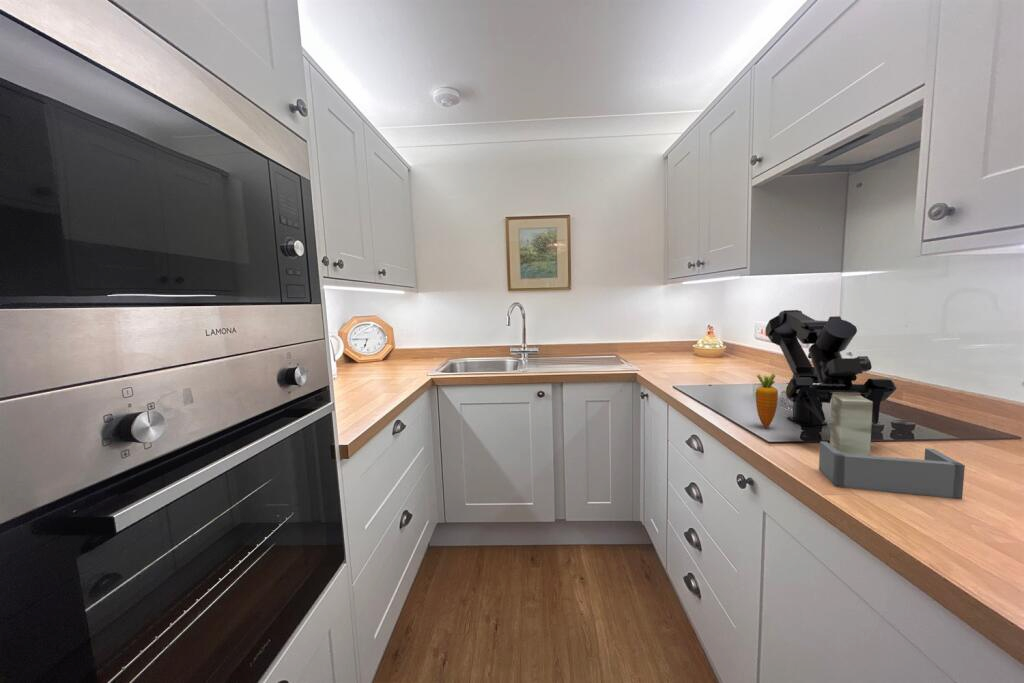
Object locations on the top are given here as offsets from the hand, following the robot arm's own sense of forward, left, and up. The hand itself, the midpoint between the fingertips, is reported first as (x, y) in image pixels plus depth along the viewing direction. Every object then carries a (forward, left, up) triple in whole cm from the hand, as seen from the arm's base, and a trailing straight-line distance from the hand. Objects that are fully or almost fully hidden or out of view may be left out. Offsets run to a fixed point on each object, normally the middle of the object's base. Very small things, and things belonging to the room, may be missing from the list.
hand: (849, 422), depth 81 cm
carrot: (-18, -6, -8) cm, 20 cm away
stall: (+13, -4, -7) cm, 15 cm away
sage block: (0, 0, -7) cm, 8 cm away
